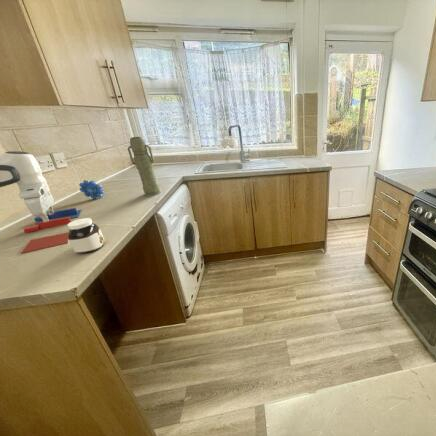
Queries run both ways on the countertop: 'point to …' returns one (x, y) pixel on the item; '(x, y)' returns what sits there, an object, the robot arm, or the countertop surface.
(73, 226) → the spread jar
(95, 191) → the blue gear
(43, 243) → the terracotta mat
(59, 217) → the slate-blue mat
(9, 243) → the countertop surface
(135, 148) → the thermos
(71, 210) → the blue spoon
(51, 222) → the red stepped bar
